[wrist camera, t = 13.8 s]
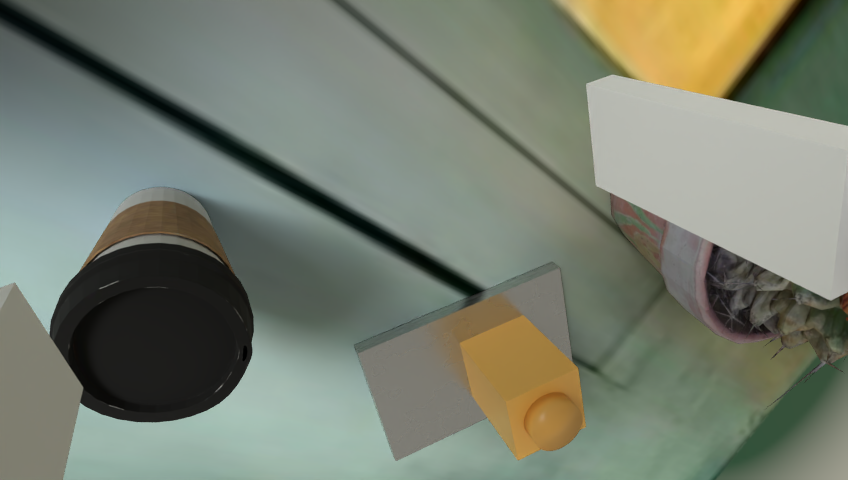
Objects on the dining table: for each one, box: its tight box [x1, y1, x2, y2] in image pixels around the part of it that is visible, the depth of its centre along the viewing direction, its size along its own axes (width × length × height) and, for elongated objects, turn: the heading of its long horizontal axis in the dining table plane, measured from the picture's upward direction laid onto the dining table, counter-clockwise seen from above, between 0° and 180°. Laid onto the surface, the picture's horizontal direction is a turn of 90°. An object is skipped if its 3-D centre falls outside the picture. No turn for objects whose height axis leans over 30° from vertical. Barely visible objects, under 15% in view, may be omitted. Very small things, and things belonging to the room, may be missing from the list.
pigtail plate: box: [354, 262, 573, 461], centre depth 49 cm, size 18×12×6 cm, turn 103°
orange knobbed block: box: [460, 315, 586, 460], centre depth 47 cm, size 6×6×10 cm
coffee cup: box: [49, 187, 254, 422], centre depth 32 cm, size 8×8×15 cm
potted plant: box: [610, 193, 848, 407], centre depth 41 cm, size 18×20×25 cm
